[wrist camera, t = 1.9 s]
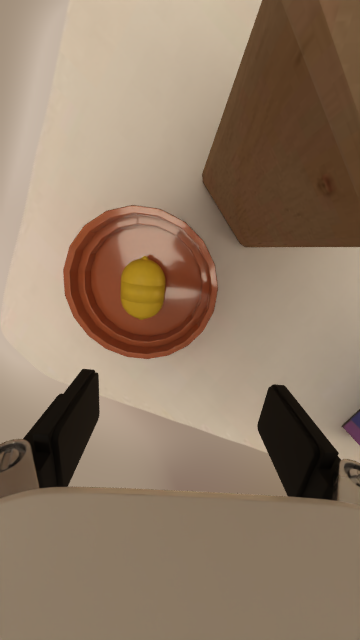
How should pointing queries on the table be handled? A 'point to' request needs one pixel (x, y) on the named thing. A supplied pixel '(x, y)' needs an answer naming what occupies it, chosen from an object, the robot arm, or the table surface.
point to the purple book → (353, 427)
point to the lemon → (142, 288)
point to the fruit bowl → (105, 281)
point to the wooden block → (293, 129)
